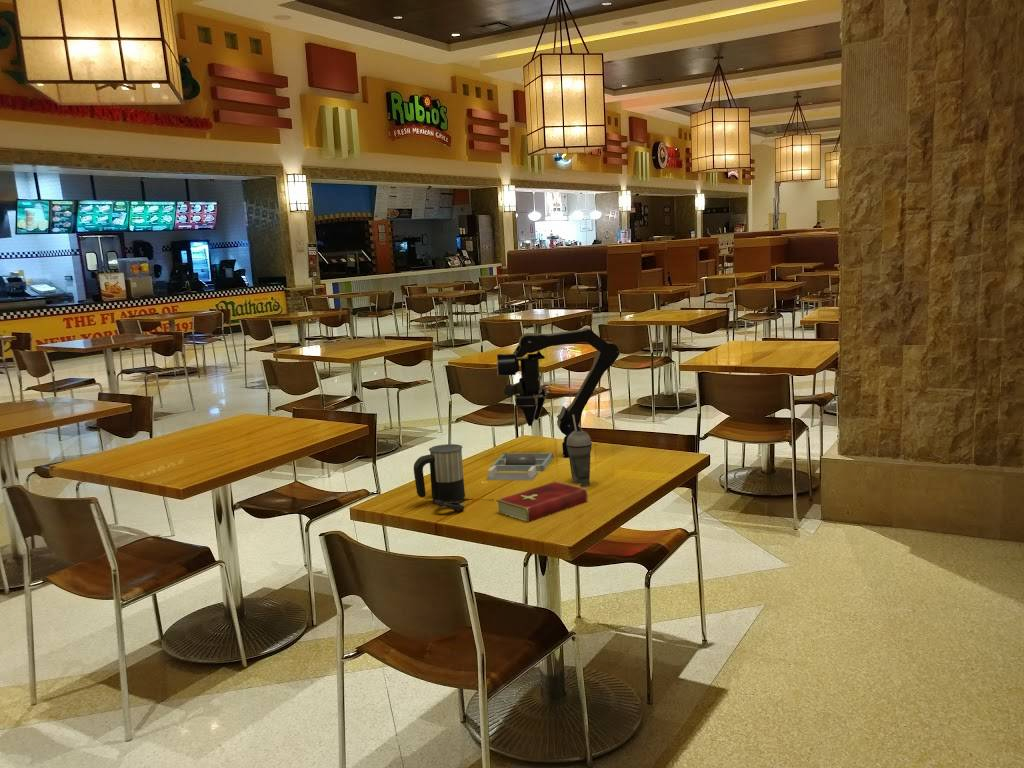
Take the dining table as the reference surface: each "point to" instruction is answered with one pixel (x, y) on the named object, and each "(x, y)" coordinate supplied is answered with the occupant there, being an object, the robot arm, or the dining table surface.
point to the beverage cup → (579, 455)
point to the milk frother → (443, 475)
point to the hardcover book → (542, 500)
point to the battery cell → (520, 460)
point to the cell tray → (541, 463)
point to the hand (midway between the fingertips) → (533, 422)
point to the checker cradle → (511, 474)
